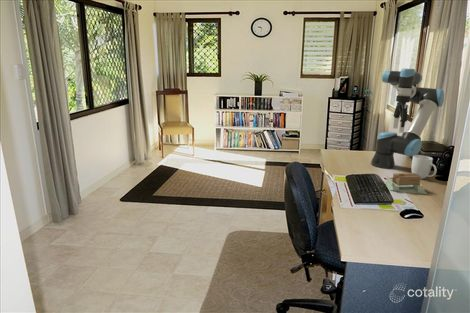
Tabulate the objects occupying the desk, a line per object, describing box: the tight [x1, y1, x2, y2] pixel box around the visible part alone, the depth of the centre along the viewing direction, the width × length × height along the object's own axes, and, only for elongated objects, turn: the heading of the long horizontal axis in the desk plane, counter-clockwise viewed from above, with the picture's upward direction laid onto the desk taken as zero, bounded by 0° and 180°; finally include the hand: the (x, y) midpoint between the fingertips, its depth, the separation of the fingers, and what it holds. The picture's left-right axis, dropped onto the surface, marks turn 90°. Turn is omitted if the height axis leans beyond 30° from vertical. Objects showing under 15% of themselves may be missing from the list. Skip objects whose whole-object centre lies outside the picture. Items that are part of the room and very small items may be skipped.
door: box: [391, 172, 422, 186], centre depth 198 cm, size 6×13×6 cm, turn 100°
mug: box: [411, 154, 438, 180], centre depth 218 cm, size 15×11×13 cm
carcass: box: [384, 175, 427, 195], centre depth 199 cm, size 13×19×5 cm
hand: (397, 130), depth 215 cm, fingers open, 13 cm apart
